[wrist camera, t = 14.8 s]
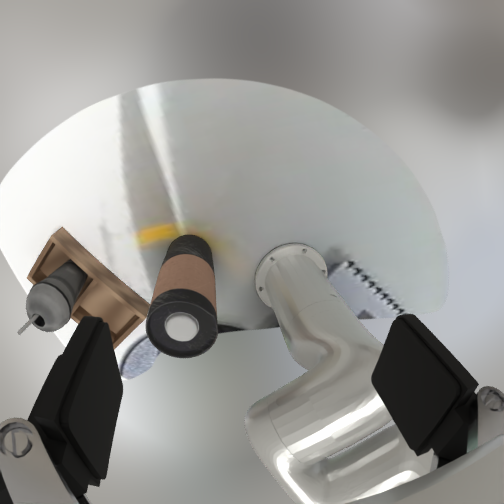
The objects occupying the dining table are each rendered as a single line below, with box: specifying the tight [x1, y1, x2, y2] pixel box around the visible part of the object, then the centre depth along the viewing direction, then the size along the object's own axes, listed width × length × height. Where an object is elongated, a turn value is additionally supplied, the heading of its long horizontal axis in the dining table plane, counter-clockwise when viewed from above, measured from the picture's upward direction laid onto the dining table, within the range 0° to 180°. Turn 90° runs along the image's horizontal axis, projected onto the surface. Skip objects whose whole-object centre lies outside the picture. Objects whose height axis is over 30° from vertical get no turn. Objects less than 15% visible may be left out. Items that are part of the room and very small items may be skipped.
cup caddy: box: [27, 227, 150, 349], centre depth 45 cm, size 20×11×4 cm, turn 42°
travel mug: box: [146, 235, 218, 358], centre depth 38 cm, size 8×8×20 cm
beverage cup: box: [18, 259, 88, 335], centre depth 36 cm, size 7×7×20 cm
